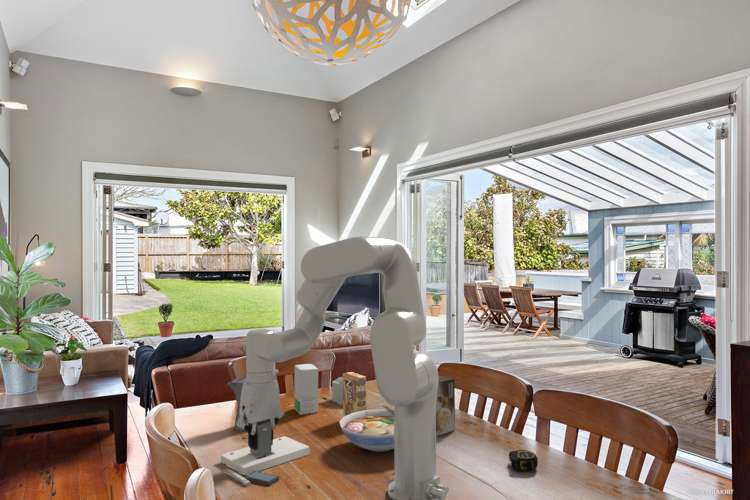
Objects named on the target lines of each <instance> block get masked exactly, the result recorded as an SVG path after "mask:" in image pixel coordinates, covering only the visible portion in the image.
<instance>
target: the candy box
mask: <svg viewBox="0 0 750 500" xmlns="http://www.w3.org/2000/svg"><path fill="white" fill-rule="evenodd" d="M342 377H343V404H342V406H343V407H342V409H343V412H342V413H343V417H344V416H347V415H349V414H351V413H355V412H360V411H365V410H368V409H367V404H368V403H366V382H367V376H365V375H362V374H359V373H357V372H353V371H351V372H350V371H349V372H343V373H342Z"/></svg>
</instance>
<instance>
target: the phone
mask: <svg viewBox="0 0 750 500" xmlns="http://www.w3.org/2000/svg"><path fill="white" fill-rule="evenodd" d="M244 478H245V479H247V480H249V481H252V482H251V483H255V484H259V483H260V485H263V484H264V486H267V485H268V487H270V486H272V485H273V484H275V483H277V482H278V481H280V476H279V475H274V474H271V473H265V472H261V471H258V472H257V471H254V472H252V473H250V474H249V475H246V476H244Z"/></svg>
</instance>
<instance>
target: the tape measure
mask: <svg viewBox="0 0 750 500" xmlns="http://www.w3.org/2000/svg"><path fill="white" fill-rule="evenodd" d="M508 459H509V462H510V465H511V466H510V468H512V469H513V471H521V472H522V471H524V472H530V471H534V470H536V469H538V468H537V467H538V465H539V463H538V462H539V459H538V456H537V454H536V453H535V452H534V451H531V450H527V449H518V450H511V451H510V452H509V453H508Z"/></svg>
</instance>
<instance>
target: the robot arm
mask: <svg viewBox="0 0 750 500" xmlns="http://www.w3.org/2000/svg"><path fill="white" fill-rule="evenodd" d="M300 271H301V274H302V276H303V278H304V281H303V282H302V284H301V285H300V287H299V289H298V290H297V292H296V295H295V298H296V301H297V302H298V304H299V305H300V306H301V307H302V308H303V310H302V313H301V315H300V317H299V319H298V321H297V322H296V324H295V325H294V327H293V328H289V329H286V330H281V331H279V332H274V331H273V330H271V329H266V328H264V329H262V328H261V329H259V328H258V329H253V330H249V331H248V332H247V334H246V335H245V336H246V337H245V338H246V339H245V342H246V343H245V347H246V349H245V355H246V357H245V358H246V359H245V366H246V367H245V368H246V370H245V374H246V375H245V376H246V383H243V387H242V392H241V399H240V417H239V419H238V421H237V423H236V425H237V426H238V427H241V428H243V429H244V430H245V431H244V432H246V433H247V446H248V447H250V448H252V449H253V450H257V434H255V433H256V426H257V422H261V421H265V420H268V421H270V422H271V445H273V439H274V430H275V429H276V426H277V424H278V423H279V421H280V420H281V419H282V418H283V416H285V412H284V410H283V409H282V407H281V395H280V389H279V384H278V380H277V379H276V378H277V377H276V376H277V375H280V374H279V373H280V371H279V369H278V368H277V369H276V363H283V362H286V361H290V360H291V359H295V358H298V357H301V356H304V355H306V353H308V352H309V351H310V350H311V349H312V347H313V346H314V344H315V343H316V341H317V340H318V338H319V337H320V335H321V333H322V331H323V329H324V326H325V321H326V311H327V309H328V307H330V305H331V303H332V301H333V300H334V298H335V297H336V295H337V294H338V292H339V290H340V289H341V287H342V286H343V284H344V282H345V280H346V279H347V278H348V277H349V278H350V277H354V276H361V275H368V274H378V273H379V274H382V276H383V282H382V294H383V295H382V296H383V300H384V308H385V310H384V311H383V312H381V313H380V314H378V315H377V316H376V317H375V318H374V320H373V321H372V323H371V326H370V333H369V341H370V342H369V343H370V349H371V355H372V362H373V363H372V364H373V369H374V374H375V375H374V376H375V381H376V386H377V389H378V392H379V394H380V396H381V397H382V399H383V400H384V401H386V403H388V404H389V405H390V406H393V407H394V408H393V410H394V449H393V452H394V453H393V454H394V455H393V457H394V458H393V459H394V461H393V462H394V464H393V465H394V466H393V467H394V469H393V470H394V480H392V481H391V482H390V483H389V484H388V486H387V495H388V496H389V498H390V499H392V500H446V498H447V494H448V493H449V490H450V489H449V487H448V486H446V485H443V484H441V475H439V474H437V436H436V399H437V390H438V376H439V371H438V367H437V365H436V363H435V361H434V359H432V358H431V357H430V356H429V355H427V354H425V353H421V352H414V348H415V347H417V346H419V345H420V344H421V343H422V342H423V341H424V340H425V338H426V334H427V324H426V319H425V312H424V307H423V301H422V295H421V291H420V290H421V289H420V285H419V284H420V283H419V277H418V276H419V275H418V270H417V266H416V262H415V259H414V256H413V254H412V252H411V251H410V250H409V248H407V247H406V246H405V245H404V244H402V243H401V242H399V241H396V240H393V239H392V238H391V239H390V238H386V237H380V236H379V237H378V236H353V237H349V238H345V239H342V240H338V241H334V242H330V243H326V244H323V245H319V246H314V247H312V248H311V249H309V250H308V251H306V252H305V253H304V255H303V257H302V258H301V261H300ZM245 420H247V425H246V424H244V421H245Z"/></svg>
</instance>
